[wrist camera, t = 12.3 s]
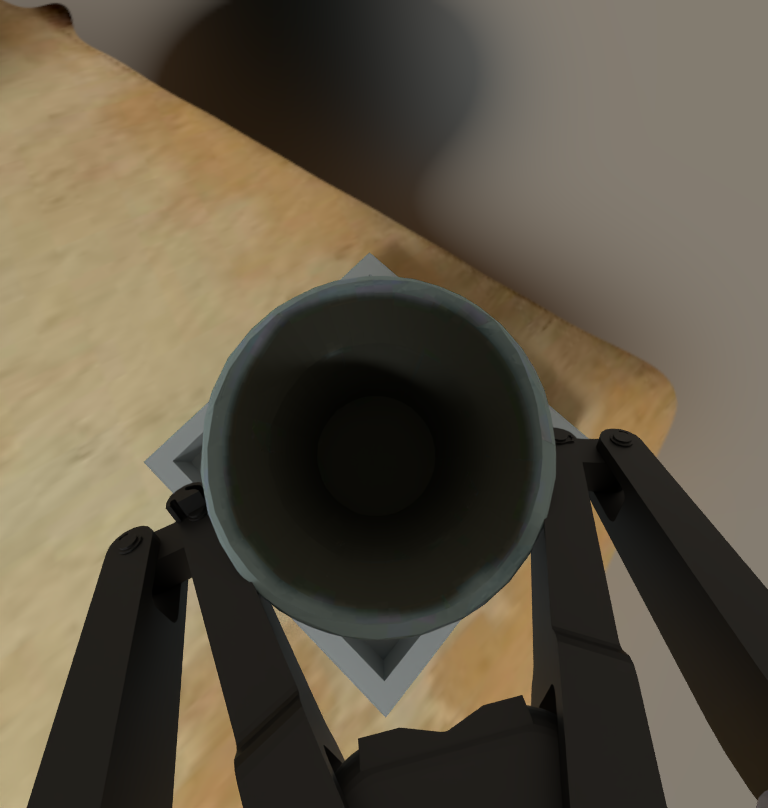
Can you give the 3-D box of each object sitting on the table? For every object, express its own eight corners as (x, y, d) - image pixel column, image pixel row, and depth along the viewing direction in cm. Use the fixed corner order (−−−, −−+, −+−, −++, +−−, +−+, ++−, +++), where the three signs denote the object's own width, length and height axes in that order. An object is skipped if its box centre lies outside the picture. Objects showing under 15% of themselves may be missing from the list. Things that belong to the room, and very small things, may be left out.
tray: (173, 462, 22) (143, 462, 19) (369, 277, 26) (369, 252, 23) (383, 681, 20) (385, 717, 17) (567, 447, 24) (595, 444, 21)
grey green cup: (381, 574, 19) (396, 741, 7) (262, 460, 20) (112, 449, 9) (485, 447, 21) (629, 422, 9) (370, 348, 22) (369, 211, 10)
